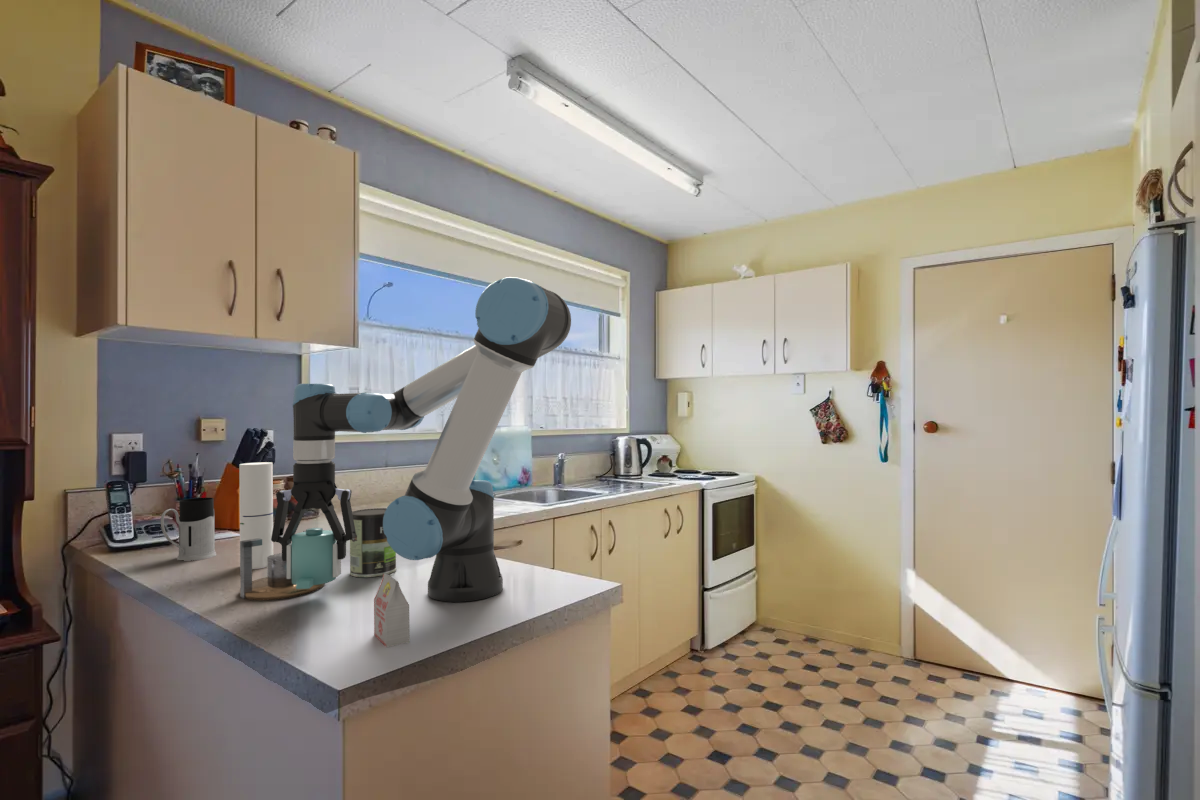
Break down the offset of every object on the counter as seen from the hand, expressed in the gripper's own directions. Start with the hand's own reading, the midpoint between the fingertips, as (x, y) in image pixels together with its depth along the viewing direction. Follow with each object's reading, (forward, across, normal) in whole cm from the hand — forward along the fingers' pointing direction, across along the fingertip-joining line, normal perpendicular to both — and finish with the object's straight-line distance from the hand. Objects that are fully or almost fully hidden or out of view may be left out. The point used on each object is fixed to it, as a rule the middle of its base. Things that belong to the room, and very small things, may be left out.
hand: (314, 576), depth 122 cm
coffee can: (+5, -6, -21) cm, 23 cm away
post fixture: (+5, +10, -10) cm, 15 cm away
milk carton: (+5, -20, +23) cm, 31 cm away
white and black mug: (+6, +46, -42) cm, 62 cm away
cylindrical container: (+6, +24, -32) cm, 40 cm away
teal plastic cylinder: (+1, 0, 0) cm, 1 cm away
